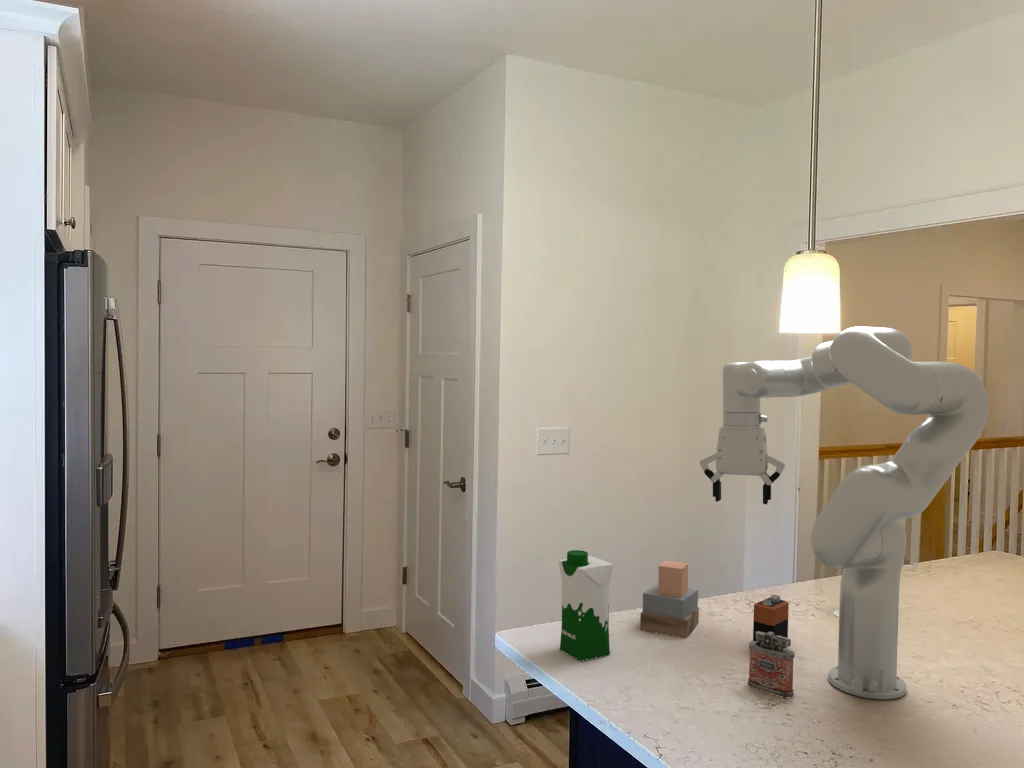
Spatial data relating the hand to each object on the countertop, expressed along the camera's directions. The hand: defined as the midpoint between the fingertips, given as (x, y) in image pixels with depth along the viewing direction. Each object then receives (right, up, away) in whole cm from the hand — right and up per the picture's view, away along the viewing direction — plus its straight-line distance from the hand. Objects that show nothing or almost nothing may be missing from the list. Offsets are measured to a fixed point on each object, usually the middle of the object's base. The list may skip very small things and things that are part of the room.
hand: (741, 501), depth 165 cm
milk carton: (-34, -28, -11) cm, 45 cm away
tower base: (-14, -28, +4) cm, 32 cm away
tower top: (-14, -24, +4) cm, 28 cm away
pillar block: (-14, -20, +3) cm, 24 cm away
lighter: (-3, -29, -28) cm, 40 cm away
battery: (+3, -28, -8) cm, 29 cm away
